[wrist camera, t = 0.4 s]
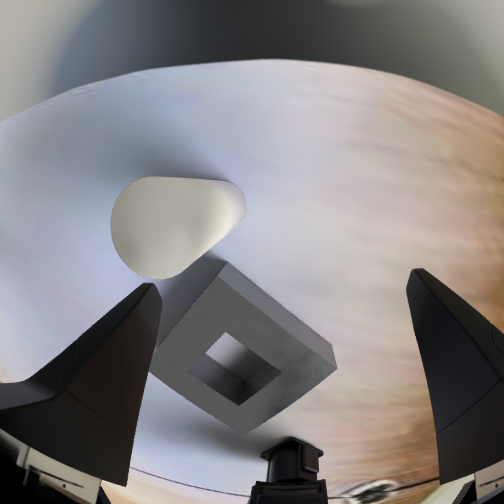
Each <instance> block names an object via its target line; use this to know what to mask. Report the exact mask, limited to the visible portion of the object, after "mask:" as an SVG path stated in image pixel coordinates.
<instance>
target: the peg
mask: <svg viewBox="0 0 504 504" xmlns="http://www.w3.org/2000/svg"><path fill="white" fill-rule="evenodd" d="M246 210H247V203H246V199H245V196H244V194H243V192H242V191H241V190H240V188H238V187H237V186H236V185H235V184H233V183H230V182H227V181H218V180H206V179H192V178H177V177H158V176H150V177H144V178H141V179H138V180H136V181H134V182H132V183H131V184H129V185H128V186H127V187H126V188H125V189H124V190H123V191H122V192H121V193H120V195H119V197H118V198H117V200H116V202H115V204H114V207H113V210H112V215H111V235H112V240H113V243H114V246H115V249H116V251H117V253H118V254H119V256H120V258H121V259H122V260H123V262H124V263H125V264H126V265H127V266H128V267H129V268H130V269H131V270H133V271H134V272H136V273H137V274H139V275H141V276H143V277H146V278H150V279H167V278H171V277H174V276H176V275H178V274H180V273H181V272H183V271H184V270H185V269H186V268H187V267H188V266H190V265H191V264H192V263H193V262H194V261H196V260H197V259H198V258H199V257H200V256H202V255H203V254H204V253H205V252H206V251H208V250H209V249H210V248H211V247H212V246H214V245H215V244H216V243H217V242H218V241H220V240H221V239H222V238H223V237H225V236H226V235H227V234H228V233H229V232H231V231H232V230H233V229H234V228H236V227H237V226H238V225H239V224H240V223H241V222H242V220H243V219H244V217H245V214H246Z"/></svg>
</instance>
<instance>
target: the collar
mask: <svg viewBox="0 0 504 504" xmlns="http://www.w3.org/2000/svg"><path fill="white" fill-rule="evenodd" d="M225 332H227V333H228V334H230V335H231V336H232V337H234V338H235V339H236V340H238V341H239V342H240V343H242V344H243V345H244V346H246V347H247V348H248V349H250V350H251V351H253V352H254V353H255V354H257V355H258V356H260V357H261V358H262V359H264V360H265V361H267V363H266V364H265V365H264V366H263V367H261V368H260V369H259V370H258V371H257V372H256V373H254V374H253V375H252V376H251V377H250V378H248V379H247V380H246V381H243V380H242V379H240V378H239V377H237V376H236V375H234V374H233V373H231V372H230V371H229V370H227V369H226V368H224V367H223V366H221V365H220V364H219V363H217V362H216V361H214V360H213V359H212V358H210V357H209V356H208V355H206V354H205V352H206V351H207V350H208V349H209V348H210V347H211V346H212V345H213V344H214V343H215V342H216V341H217V340H218V339H219V338H220V337H221V336H222V335H223V334H224V333H225ZM336 369H337V365H336V361H335V356H334V352H333V348H332V345H331V344H330V343H329V342H327V341H326V340H325V339H324V338H322V337H321V336H320V335H318V334H317V333H316V332H315V331H313V330H312V329H311V328H309V327H308V326H307V325H306V324H304V323H303V322H302V321H301V320H299V319H298V318H297V317H296V316H294V315H293V314H292V313H290V312H289V311H288V310H287V309H285V308H284V307H283V306H282V305H280V304H279V303H278V302H277V301H275V300H274V299H273V298H272V297H270V296H269V295H268V294H267V293H265V292H264V291H263V290H262V289H261V288H259V287H258V286H257V285H256V284H254V283H253V282H252V281H251V280H249V279H248V278H247V277H246V276H245V275H243V274H242V273H241V272H240V271H238V270H237V269H236V268H235V267H234V266H232V265H231V264H230V263H229V262H227V264H226V265H225V266H224V267H223V268H222V270H221V271H220V272H219V273H218V274H217V276H216V277H215V278H214V279H213V281H212V282H211V283H210V284H209V285H208V287H207V288H206V289H205V290H204V291H203V293H202V294H201V295H200V296H199V298H198V299H197V300H196V301H195V302H194V304H193V305H192V306H191V307H190V309H189V310H188V311H187V312H186V313H185V315H184V316H183V317H182V318H181V320H180V321H179V322H178V323H177V325H176V326H175V327H174V328H173V329H172V331H171V332H170V333H169V334H168V336H167V337H166V338H165V339H164V341H163V342H162V343H161V344H160V346H159V347H158V348H157V349H156V351H155V352H154V353H153V356H152V360H151V364H150V368H149V372H150V373H152V374H153V375H154V376H156V377H157V378H158V379H159V380H161V381H162V382H163V383H165V384H166V385H168V386H169V387H170V388H172V389H173V390H174V391H176V392H177V393H179V394H180V395H181V396H183V397H184V398H186V399H187V400H189V401H190V402H192V403H193V404H195V405H196V406H198V407H199V408H201V409H202V410H204V411H206V412H207V413H209V414H210V415H212V416H214V417H215V418H217V419H218V420H220V421H222V422H223V423H225V424H227V425H229V426H230V427H232V428H234V429H236V430H237V431H239V432H241V433H243V434H246V433H248V432H250V431H251V430H253V429H255V428H256V427H258V426H259V425H261V424H263V423H264V422H266V421H267V420H269V419H270V418H272V417H273V416H275V415H276V414H278V413H279V412H281V411H282V410H284V409H285V408H287V407H288V406H289V405H291V404H292V403H294V402H295V401H296V400H298V399H299V398H300V397H302V396H303V395H305V394H306V393H307V392H309V391H310V390H311V389H313V388H314V387H315V386H316V385H318V384H319V383H320V382H321V381H323V380H324V379H325V378H327V377H328V376H329V375H330V374H331V373H333V372H334V371H335V370H336Z"/></svg>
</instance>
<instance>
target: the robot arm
mask: <svg viewBox="0 0 504 504" xmlns="http://www.w3.org/2000/svg"><path fill="white" fill-rule="evenodd" d="M406 294H407V298H408V303H409V308H410V312H411V318H412V323H413V328H414V332H415V336H416V340H417V343H418V347H419V351H420V354H421V358H422V362H423V367H424V371H425V375H426V380H427V384H428V389H429V394H430V400H431V405H432V411H433V417H434V424H435V431H436V440H437V450H438V461H439V477H440V485H442V484H445V483H448V482H451V481H454V480H457V479H460V478H463V477H465V476H468V475H471V474H473V473H474V478H475V479H474V480H472V481H470V482H468V483H466V484H465V485H464V486H463V488H462V490H461V491H460V493H459V494H458V496H457V497H456V499H455V500H454V502H453V503H452V504H504V334H503V333H502V332H501V331H500V330H499V329H498V328H496V327H495V326H494V325H493V324H492V323H490V321H488V320H487V319H486V318H485V317H484V316H483V315H482V314H480V313H479V312H478V311H477V310H476V309H474V308H473V307H472V306H471V305H470V304H468V303H467V302H466V301H465V300H464V299H462V298H461V297H460V296H459V295H457V294H456V293H455V292H454V291H452V290H451V289H450V288H448V287H447V286H446V285H445V284H443V283H442V282H441V281H439V280H438V279H437V278H435V277H434V276H433V275H431V274H430V273H429V272H427V271H426V270H425V269H423V268H416V269H412V271H411V273H410V276H409V280H408V283H407V287H406ZM161 309H162V298H161V296H160V294H159V292H158V290H157V287H156V285H155V284H154V283H143V284H141V285H140V286H139V287H138V288H136V289H135V290H134V291H133V292H131V293H130V294H129V295H128V296H127V297H125V298H124V299H123V300H122V301H121V302H119V303H118V304H117V305H116V306H115V307H113V308H112V309H111V310H110V311H109V312H108V313H106V314H105V315H104V316H103V317H102V318H100V319H99V320H98V321H97V322H96V323H95V324H94V325H92V326H91V327H90V328H89V329H88V330H87V331H85V332H84V333H83V334H82V335H81V336H80V337H79V338H78V339H77V340H75V341H74V342H73V343H72V344H71V345H70V346H68V347H67V348H66V349H65V350H64V351H63V352H62V353H60V354H59V355H58V356H57V357H55V358H54V359H53V360H52V361H50V362H49V363H48V364H47V365H45V366H44V367H43V368H41V369H40V370H39V371H38V372H36V373H35V374H34V375H33V376H31V377H30V378H28V379H26V380H24V381H21V382H15V383H0V504H111V502H110V501H109V499H108V497H107V495H106V494H105V492H104V490H103V488H102V487H101V486H100V485H101V481H102V480H105V481H108V482H111V483H114V484H117V485H120V486H124V487H126V485H127V480H128V473H129V466H130V460H131V454H132V448H133V443H134V440H133V439H134V437H135V431H136V426H137V421H138V416H139V411H140V407H141V402H142V397H143V393H144V389H145V384H146V380H147V376H148V372H149V368H150V364H151V360H152V356H153V352H154V348H155V344H156V340H157V334H158V328H159V321H160V315H161ZM323 455H324V454H323V451H321V450H319V449H316V448H314V447H312V446H310V445H308V444H306V443H304V442H301V441H299V440H297V439H295V438H289V439H287V440H285V441H284V442H282V443H280V444H278V445H276V446H275V447H273V448H271V449H269V450H267V451H265V452H263V453H261V455H260V457H261V458H263V459H265V460H267V461H269V462H268V470H267V479H266V482H261V481H256V484H255V485H254V486H252V490H251V496H250V498H249V501H248V503H247V504H328V497H327V489H326V481H325V479H321V480H317V473H318V472H319V461H318V458H319V457H321V456H323Z"/></svg>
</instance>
